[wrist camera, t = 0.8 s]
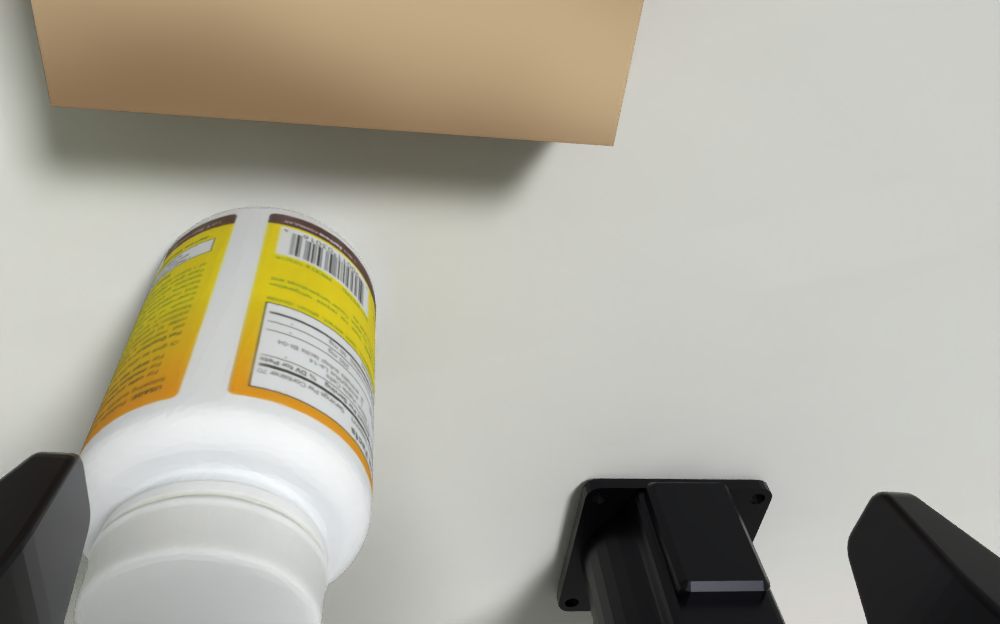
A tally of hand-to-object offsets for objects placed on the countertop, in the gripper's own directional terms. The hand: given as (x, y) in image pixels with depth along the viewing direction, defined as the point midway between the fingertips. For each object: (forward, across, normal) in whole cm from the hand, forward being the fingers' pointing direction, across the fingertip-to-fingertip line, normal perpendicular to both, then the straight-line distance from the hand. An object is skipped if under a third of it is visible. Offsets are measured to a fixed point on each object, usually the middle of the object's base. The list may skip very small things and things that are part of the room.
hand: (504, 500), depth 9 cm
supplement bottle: (+13, +4, +6) cm, 14 cm away
